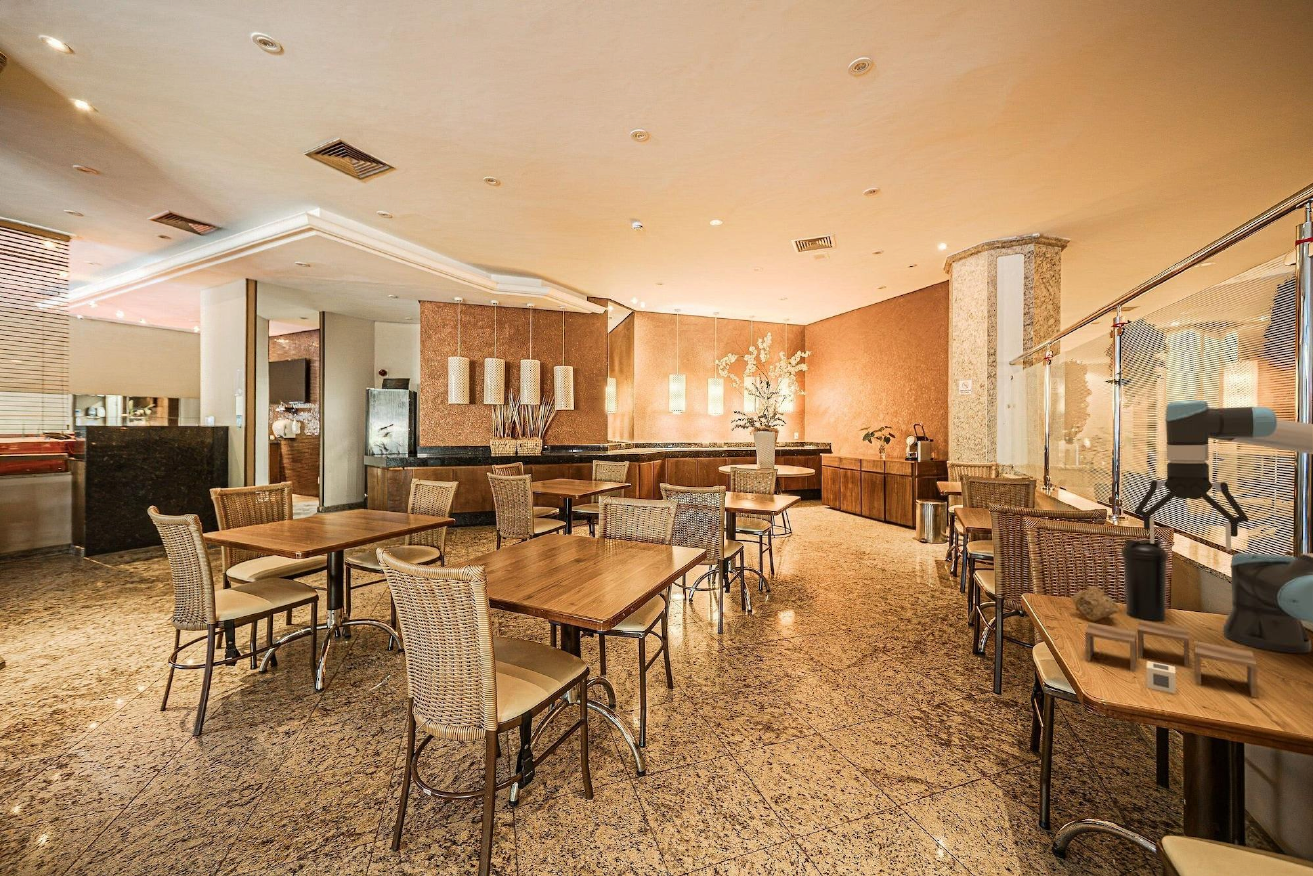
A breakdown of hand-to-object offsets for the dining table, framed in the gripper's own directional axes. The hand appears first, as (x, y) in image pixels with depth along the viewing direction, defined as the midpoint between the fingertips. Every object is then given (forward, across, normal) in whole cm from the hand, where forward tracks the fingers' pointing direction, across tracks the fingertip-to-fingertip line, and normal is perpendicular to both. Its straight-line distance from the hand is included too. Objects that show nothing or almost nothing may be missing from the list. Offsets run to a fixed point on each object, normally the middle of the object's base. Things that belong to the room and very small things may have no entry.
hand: (1189, 546), depth 134 cm
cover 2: (+27, +5, +9) cm, 29 cm away
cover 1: (+27, +14, +19) cm, 36 cm away
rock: (+27, +19, -15) cm, 36 cm away
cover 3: (+27, -5, +19) cm, 33 cm away
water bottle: (+27, +9, -27) cm, 39 cm away
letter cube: (+27, +5, +30) cm, 41 cm away
